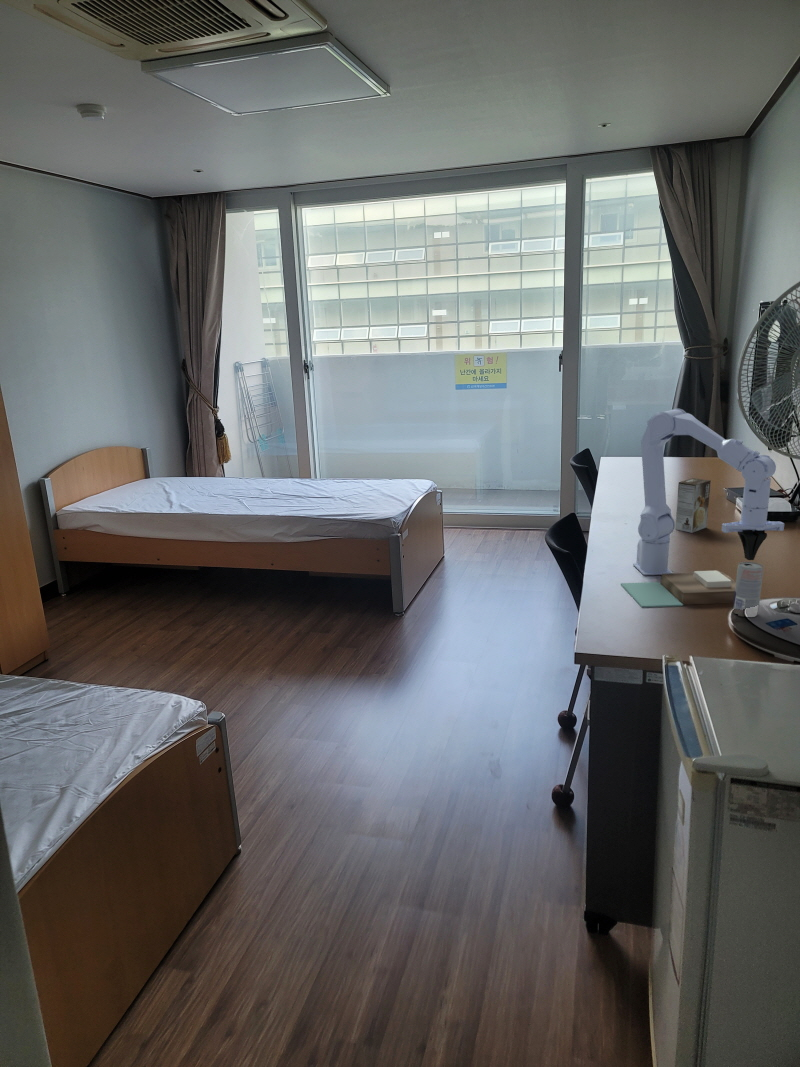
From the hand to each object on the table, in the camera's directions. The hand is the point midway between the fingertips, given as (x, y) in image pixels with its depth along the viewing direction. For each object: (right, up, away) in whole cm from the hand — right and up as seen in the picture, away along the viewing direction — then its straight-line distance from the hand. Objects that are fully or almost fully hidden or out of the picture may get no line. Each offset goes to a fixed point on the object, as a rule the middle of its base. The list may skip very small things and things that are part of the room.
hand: (749, 559), depth 180 cm
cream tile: (-9, -6, +1) cm, 11 cm away
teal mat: (-24, -9, +2) cm, 26 cm away
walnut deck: (-11, -9, +2) cm, 14 cm away
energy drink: (-6, -13, -11) cm, 18 cm away
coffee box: (+9, +8, +58) cm, 60 cm away
